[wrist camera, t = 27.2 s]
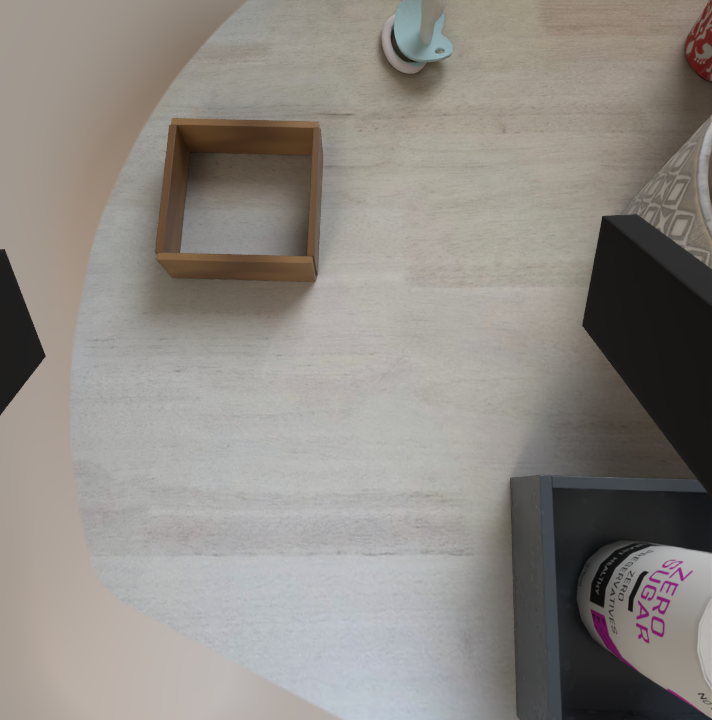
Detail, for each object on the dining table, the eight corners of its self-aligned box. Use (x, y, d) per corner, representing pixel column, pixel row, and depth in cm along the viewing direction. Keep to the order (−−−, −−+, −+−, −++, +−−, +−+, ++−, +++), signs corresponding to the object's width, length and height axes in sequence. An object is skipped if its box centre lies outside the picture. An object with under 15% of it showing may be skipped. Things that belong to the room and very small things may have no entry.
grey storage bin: (516, 716, 42) (550, 764, 34) (510, 477, 45) (539, 474, 38) (751, 724, 42) (836, 773, 34) (726, 484, 45) (798, 482, 38)
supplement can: (692, 659, 42) (871, 748, 27) (576, 657, 42) (693, 745, 27) (680, 540, 44) (842, 564, 29) (569, 538, 44) (675, 562, 29)
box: (170, 278, 49) (154, 259, 45) (184, 146, 52) (170, 117, 48) (317, 281, 49) (314, 263, 45) (323, 149, 52) (320, 121, 48)
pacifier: (390, 86, 53) (455, 73, 53) (391, 33, 47) (465, 19, 47) (374, 18, 55) (437, 6, 55) (374, -41, 49) (445, -54, 49)
